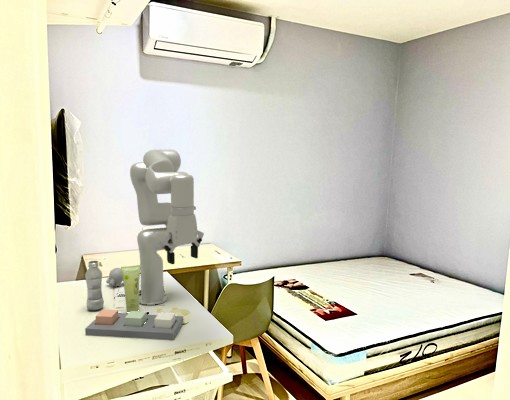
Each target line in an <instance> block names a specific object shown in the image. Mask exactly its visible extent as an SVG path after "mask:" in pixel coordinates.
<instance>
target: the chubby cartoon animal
mask: <svg viewBox="0 0 510 400" xmlns="http://www.w3.org/2000/svg"><path fill="white" fill-rule="evenodd" d="M105 282H106V284H108V285H109V286H115V287H117V286H120V287H121V283H122V282H123V275H122V270H121V267H115V268H113V269H112V270H110V271H109V275H108V278H107V279H106V281H105ZM117 288H118V287H117Z"/></svg>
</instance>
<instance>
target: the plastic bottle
mask: <svg viewBox="0 0 510 400" xmlns="http://www.w3.org/2000/svg"><path fill="white" fill-rule="evenodd" d="M87 263H88V264H87V265H88V266H87V267H88V268H87V269H86V272H85V274H84V278H85V283H86V287H87V294H86V295H87V297H86V298H87V299H86V308H87V309H88V310H89V311H99V310H102V308H103V307H104V304H105V303H104V302H105V301H104V297H103V291H102V285H103V284H102V283H103V282H102V280H103V273H102V272H103V271H102V270H101V269H100V265H99V261H98V260H90V261H88V262H87Z"/></svg>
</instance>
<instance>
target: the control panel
mask: <svg viewBox="0 0 510 400" xmlns="http://www.w3.org/2000/svg"><path fill="white" fill-rule="evenodd" d="M127 315H128V313H127V312H126V313H125V312H123V313H122V312H118V316H119V319H118V320H117V321H116V322H115V323H114V324H113V325H96V318H95V319H94V320H93V321H92V322H90V323H89V324H88V325H87V326H86V327H85V329H84V332H85V333H84V334H85V336H97V337H111V338H112V337H113V338H131V339H133V338H134V339H148V340H149V339H150V340H164V341H165V340H166V341H167V340H169V341H173V340H175V338H176V336H177V334H178V332H179V331H180V329H181V328H182V326H183V324H184V323H183V320H184V316H182V315H175V323H174V325H173V327H172V328H171V329H170V328H155V322H154V319H155V318H156V316H157V315H158V314H147V321H146V323H145V324H144V325H143V326H142V327H133V326H125V317H126V316H127Z"/></svg>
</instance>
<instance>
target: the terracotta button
mask: <svg viewBox="0 0 510 400" xmlns="http://www.w3.org/2000/svg"><path fill="white" fill-rule="evenodd" d="M118 313H119V309H101V311H99V312H98V313H97V314H96V315H95V319H96V325H113V324H114V323H115V322H116V321H117V320H118V319H119V316H118Z"/></svg>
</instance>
